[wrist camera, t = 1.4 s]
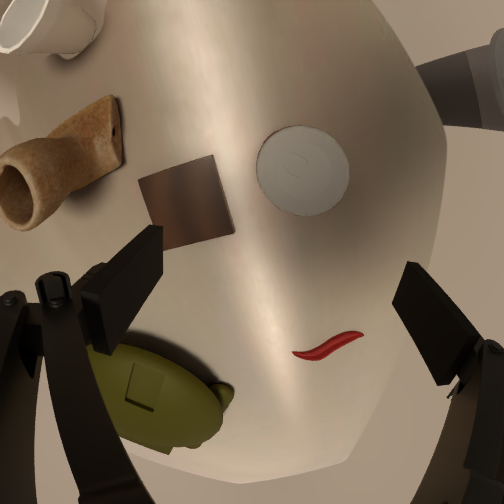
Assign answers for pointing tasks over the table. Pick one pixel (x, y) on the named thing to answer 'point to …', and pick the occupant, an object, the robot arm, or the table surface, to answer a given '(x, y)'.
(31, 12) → the foam cup
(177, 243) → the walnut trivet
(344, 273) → the table surface
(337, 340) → the cayenne pepper
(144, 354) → the spaceship
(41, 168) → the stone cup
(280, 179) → the canned food
